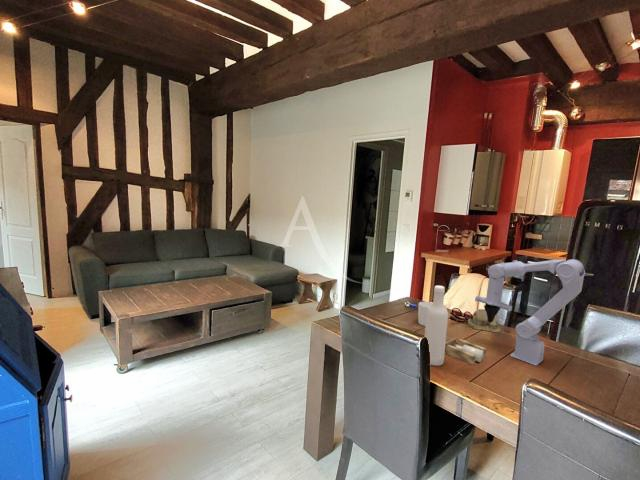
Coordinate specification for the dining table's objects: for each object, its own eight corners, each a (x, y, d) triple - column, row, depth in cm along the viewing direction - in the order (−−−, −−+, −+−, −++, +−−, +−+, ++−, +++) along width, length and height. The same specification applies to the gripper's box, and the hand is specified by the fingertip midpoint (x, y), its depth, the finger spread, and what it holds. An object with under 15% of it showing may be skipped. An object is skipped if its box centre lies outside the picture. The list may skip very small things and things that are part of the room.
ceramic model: (494, 324, 168) (496, 305, 166) (503, 333, 157) (506, 313, 155) (465, 322, 169) (467, 303, 168) (472, 331, 158) (474, 311, 157)
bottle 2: (483, 348, 129) (456, 339, 136) (478, 357, 127) (451, 347, 134) (484, 355, 131) (458, 346, 139) (480, 364, 129) (453, 354, 136)
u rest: (485, 356, 133) (486, 348, 133) (472, 364, 127) (473, 356, 126) (452, 343, 144) (453, 336, 144) (439, 350, 137) (440, 342, 137)
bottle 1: (445, 367, 124) (452, 290, 120) (423, 364, 126) (430, 288, 121) (441, 357, 132) (448, 284, 127) (421, 354, 134) (427, 282, 129)
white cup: (413, 321, 167) (415, 302, 166) (425, 319, 171) (427, 301, 169) (424, 327, 160) (426, 308, 159) (436, 325, 163) (438, 306, 162)
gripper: (473, 288, 144) (469, 317, 146) (508, 298, 133) (504, 329, 135) (481, 285, 148) (477, 314, 151) (515, 295, 137) (511, 325, 140)
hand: (490, 321), depth 143 cm, fingers closed
